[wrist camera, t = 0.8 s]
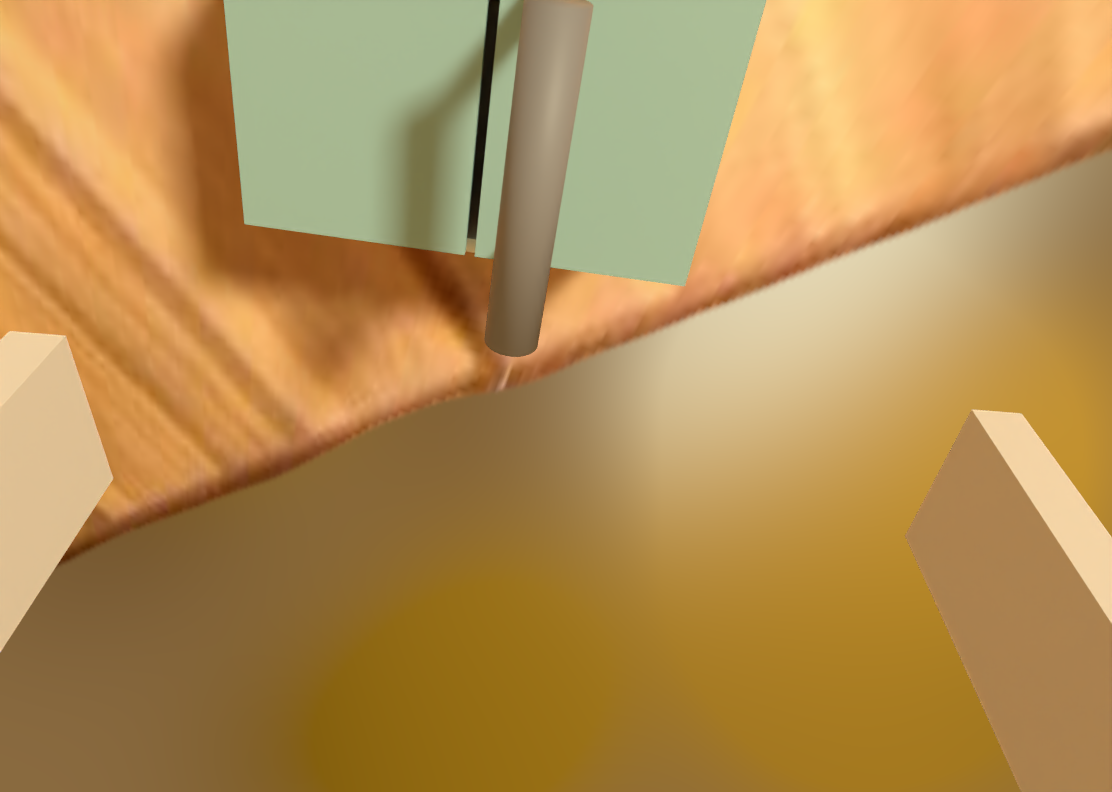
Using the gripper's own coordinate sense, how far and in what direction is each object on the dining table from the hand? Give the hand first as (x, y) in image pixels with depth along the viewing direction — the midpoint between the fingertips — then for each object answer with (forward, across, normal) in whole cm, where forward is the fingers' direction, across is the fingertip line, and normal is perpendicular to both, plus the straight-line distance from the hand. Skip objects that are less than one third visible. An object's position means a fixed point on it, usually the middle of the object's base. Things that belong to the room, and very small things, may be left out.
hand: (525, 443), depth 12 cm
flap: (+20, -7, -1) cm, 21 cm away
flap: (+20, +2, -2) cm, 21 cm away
